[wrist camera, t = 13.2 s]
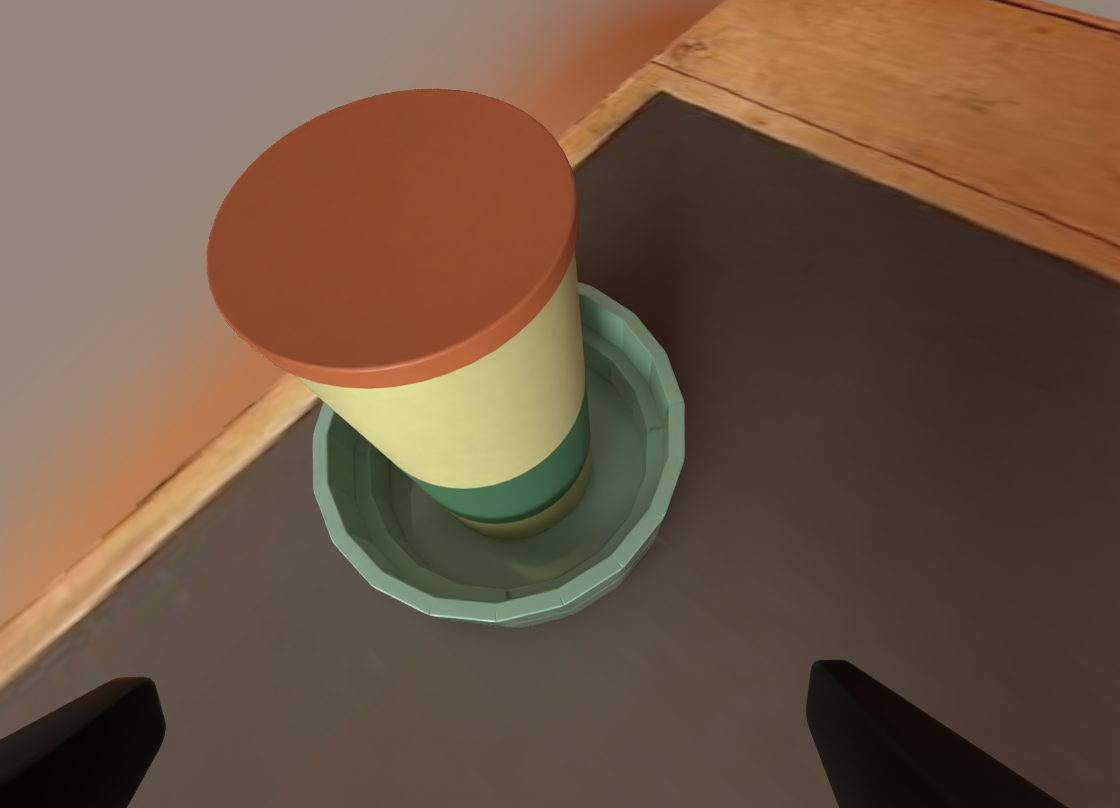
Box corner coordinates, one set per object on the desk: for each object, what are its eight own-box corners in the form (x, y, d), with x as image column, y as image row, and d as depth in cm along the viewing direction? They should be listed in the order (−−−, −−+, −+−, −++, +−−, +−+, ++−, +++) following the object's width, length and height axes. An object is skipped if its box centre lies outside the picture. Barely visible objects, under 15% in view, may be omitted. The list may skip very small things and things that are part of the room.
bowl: (601, 689, 17) (599, 701, 13) (312, 546, 20) (236, 519, 16) (708, 388, 21) (731, 326, 17) (458, 307, 24) (428, 237, 20)
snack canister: (553, 570, 18) (460, 434, 7) (404, 502, 20) (124, 296, 8) (619, 419, 20) (633, 125, 9) (481, 368, 22) (343, 62, 10)
